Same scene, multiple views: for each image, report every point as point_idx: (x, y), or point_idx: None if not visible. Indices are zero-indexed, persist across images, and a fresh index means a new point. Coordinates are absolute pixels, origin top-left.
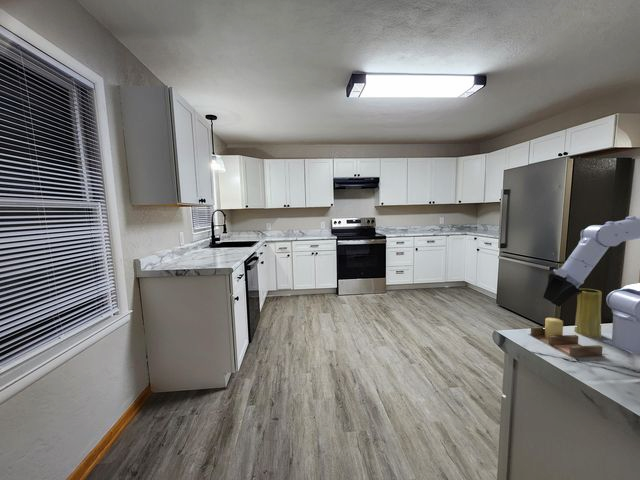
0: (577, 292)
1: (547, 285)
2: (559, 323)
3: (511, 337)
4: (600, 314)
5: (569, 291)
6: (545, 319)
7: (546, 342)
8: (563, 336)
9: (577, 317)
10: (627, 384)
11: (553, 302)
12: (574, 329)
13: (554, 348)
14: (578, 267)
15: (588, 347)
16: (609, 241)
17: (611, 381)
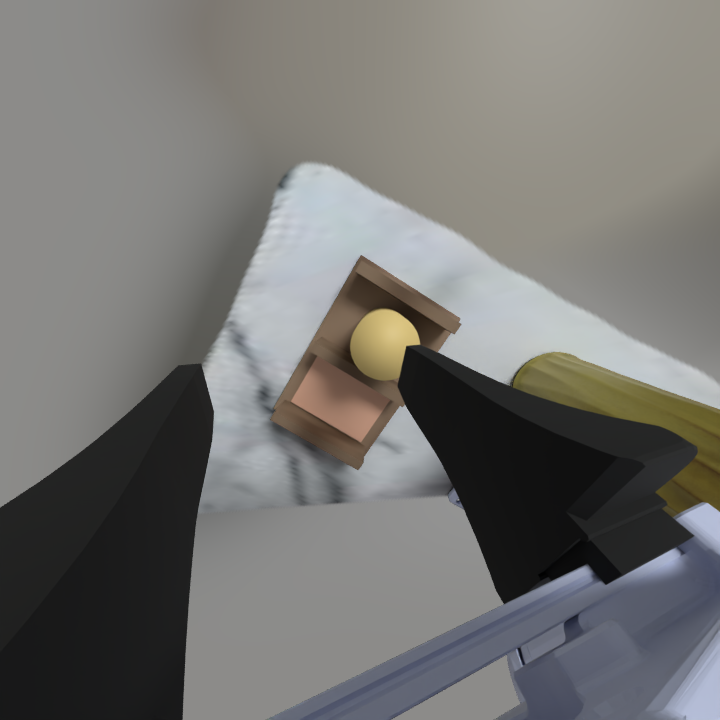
0: (484, 556)
1: (72, 459)
2: (364, 372)
3: (291, 222)
4: None
5: (486, 503)
6: (369, 315)
7: (331, 327)
8: (355, 375)
9: (579, 384)
10: (245, 501)
11: (408, 360)
12: (555, 355)
13: (302, 358)
14: None
15: (318, 445)
16: None
17: (230, 481)
